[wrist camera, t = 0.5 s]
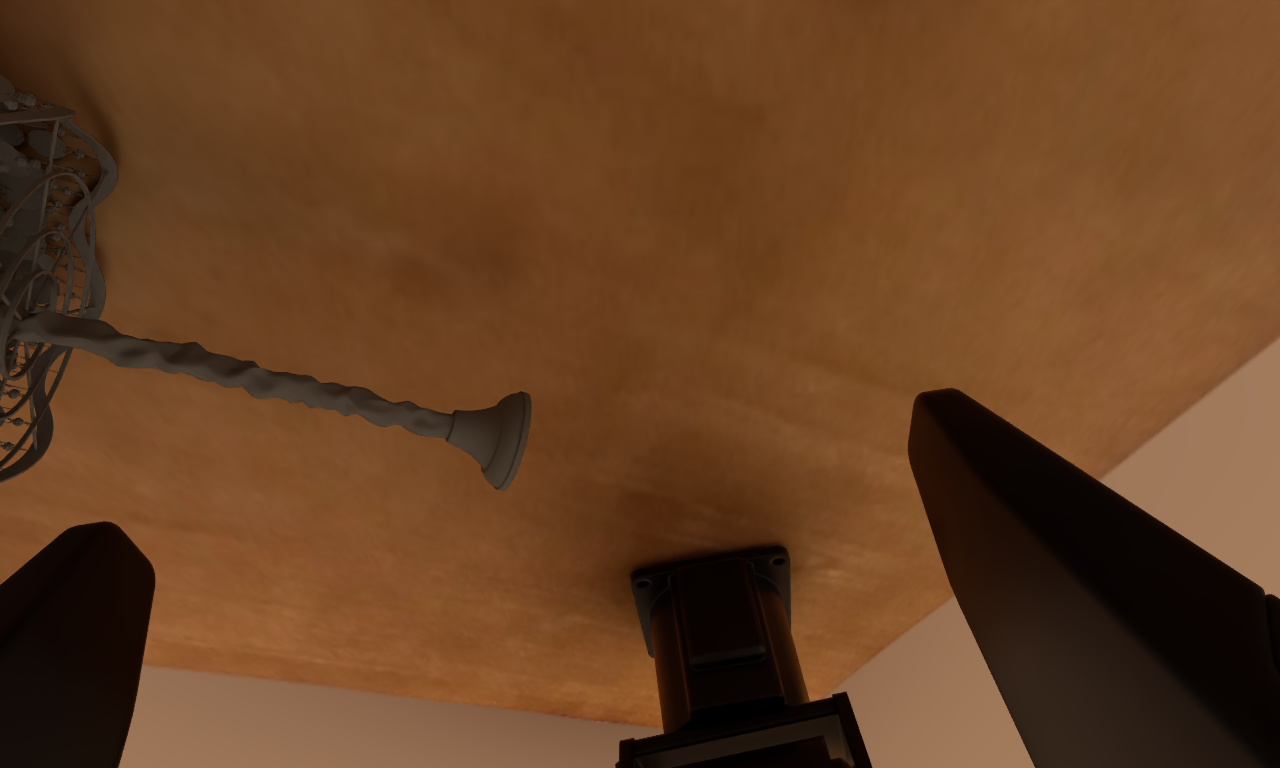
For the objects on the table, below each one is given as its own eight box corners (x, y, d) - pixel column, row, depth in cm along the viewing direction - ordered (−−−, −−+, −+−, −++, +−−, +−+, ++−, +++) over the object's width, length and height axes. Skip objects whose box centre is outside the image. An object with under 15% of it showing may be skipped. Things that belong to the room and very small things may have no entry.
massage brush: (468, 433, 26) (447, 705, 19) (-447, 214, 19) (-1030, 536, 12) (575, 197, 21) (598, 455, 14) (-646, -248, 13) (-1942, -165, 6)
